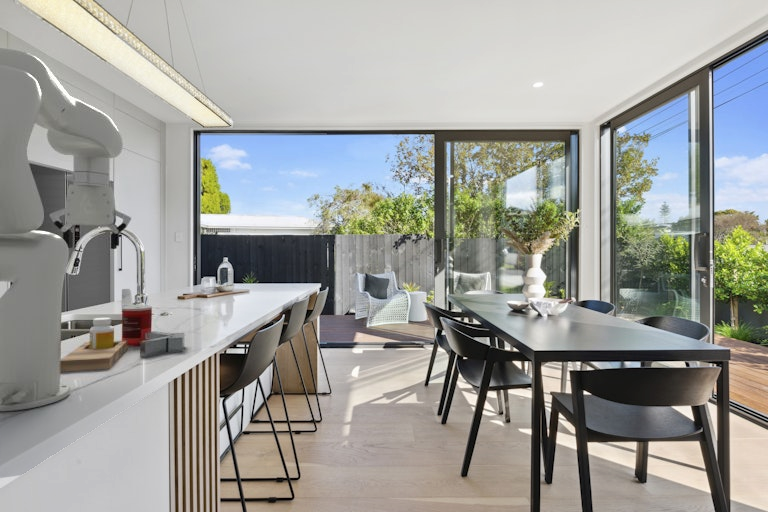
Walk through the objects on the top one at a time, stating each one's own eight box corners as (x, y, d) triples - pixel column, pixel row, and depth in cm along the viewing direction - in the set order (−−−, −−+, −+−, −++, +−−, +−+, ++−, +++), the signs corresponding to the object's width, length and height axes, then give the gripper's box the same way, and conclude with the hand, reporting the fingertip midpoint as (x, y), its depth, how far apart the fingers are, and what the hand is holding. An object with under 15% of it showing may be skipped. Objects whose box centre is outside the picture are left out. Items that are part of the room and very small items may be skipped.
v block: (139, 357, 110) (139, 342, 110) (148, 344, 124) (149, 331, 124) (180, 355, 113) (181, 340, 113) (185, 343, 128) (185, 329, 128)
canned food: (148, 339, 131) (149, 304, 131) (153, 344, 125) (154, 307, 125) (119, 342, 126) (120, 306, 126) (123, 347, 120) (124, 309, 120)
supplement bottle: (118, 353, 114) (119, 317, 114) (103, 358, 109) (104, 320, 109) (100, 352, 115) (100, 316, 115) (84, 357, 109) (84, 319, 109)
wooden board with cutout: (109, 368, 100) (109, 358, 100) (58, 372, 96) (58, 361, 96) (127, 349, 118) (127, 340, 118) (85, 351, 115) (85, 342, 115)
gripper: (44, 176, 100) (44, 248, 101) (128, 182, 106) (127, 249, 107) (55, 179, 107) (55, 246, 108) (133, 184, 113) (133, 248, 114)
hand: (91, 248), depth 108 cm, fingers open, 9 cm apart
